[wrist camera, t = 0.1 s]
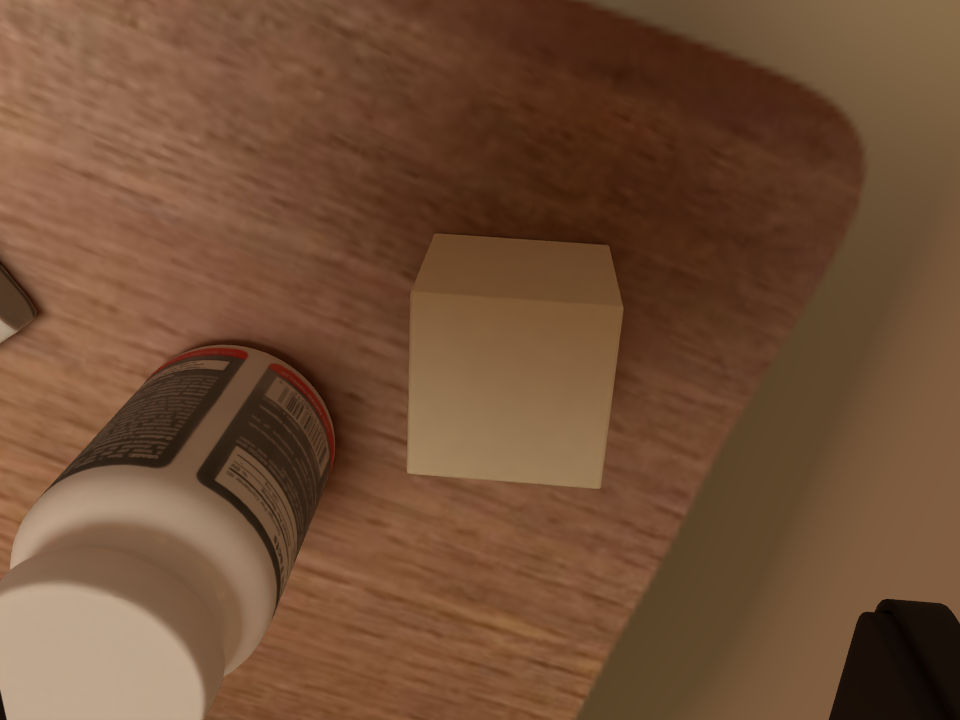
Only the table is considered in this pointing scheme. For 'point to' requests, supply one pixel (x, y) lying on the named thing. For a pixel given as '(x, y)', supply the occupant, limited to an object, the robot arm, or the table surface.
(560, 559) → the table surface
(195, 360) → the pill bottle
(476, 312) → the cream block
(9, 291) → the hard drive
